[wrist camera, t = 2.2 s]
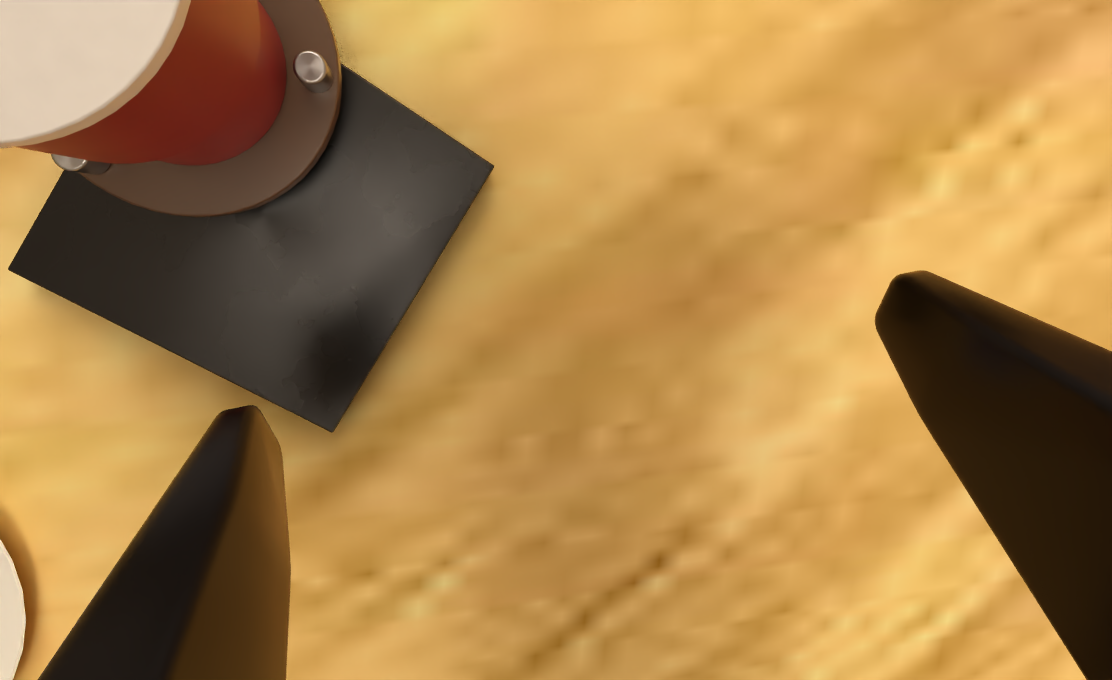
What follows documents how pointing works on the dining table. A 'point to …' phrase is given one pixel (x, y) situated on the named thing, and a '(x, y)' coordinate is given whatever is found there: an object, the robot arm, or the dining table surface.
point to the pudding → (10, 616)
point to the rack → (268, 234)
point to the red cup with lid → (139, 78)
